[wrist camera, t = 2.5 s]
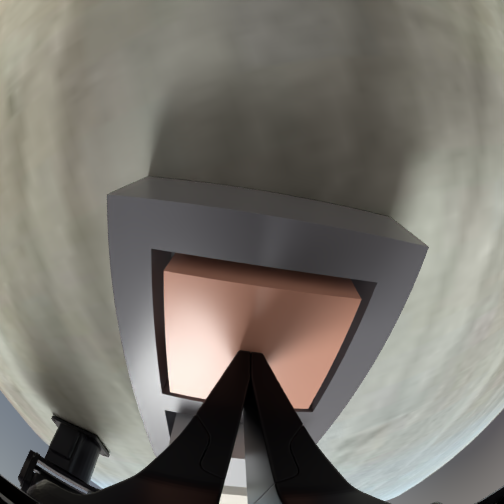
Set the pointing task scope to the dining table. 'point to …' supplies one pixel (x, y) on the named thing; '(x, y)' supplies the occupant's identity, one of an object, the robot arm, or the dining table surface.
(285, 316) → the terracotta key
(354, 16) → the dining table surface
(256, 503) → the robot arm
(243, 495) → the cream key
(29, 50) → the dining table surface
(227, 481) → the grey key
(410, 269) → the frame
